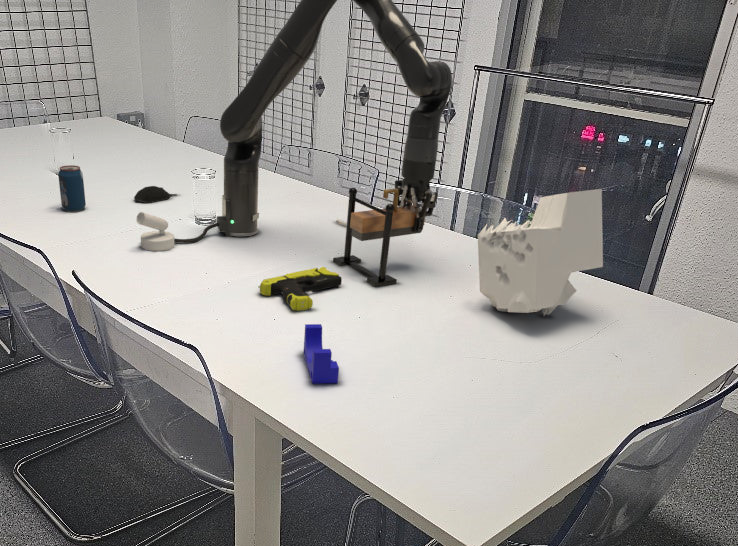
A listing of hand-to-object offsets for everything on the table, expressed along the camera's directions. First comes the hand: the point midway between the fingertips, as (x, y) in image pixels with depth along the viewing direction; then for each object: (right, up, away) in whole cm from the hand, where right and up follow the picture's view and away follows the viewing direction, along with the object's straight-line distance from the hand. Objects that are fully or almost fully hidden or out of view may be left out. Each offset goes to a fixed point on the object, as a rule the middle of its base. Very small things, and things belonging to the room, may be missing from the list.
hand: (410, 228), depth 181 cm
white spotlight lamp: (-64, -2, +13) cm, 65 cm away
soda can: (-92, +15, +40) cm, 101 cm away
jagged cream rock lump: (+21, -22, -18) cm, 36 cm away
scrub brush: (-6, -2, -2) cm, 7 cm away
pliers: (-7, +8, +31) cm, 33 cm away
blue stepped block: (-25, -37, -44) cm, 63 cm away
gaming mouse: (-69, +22, +52) cm, 89 cm away
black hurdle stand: (-11, -11, 0) cm, 16 cm away
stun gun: (-26, -18, -14) cm, 34 cm away
